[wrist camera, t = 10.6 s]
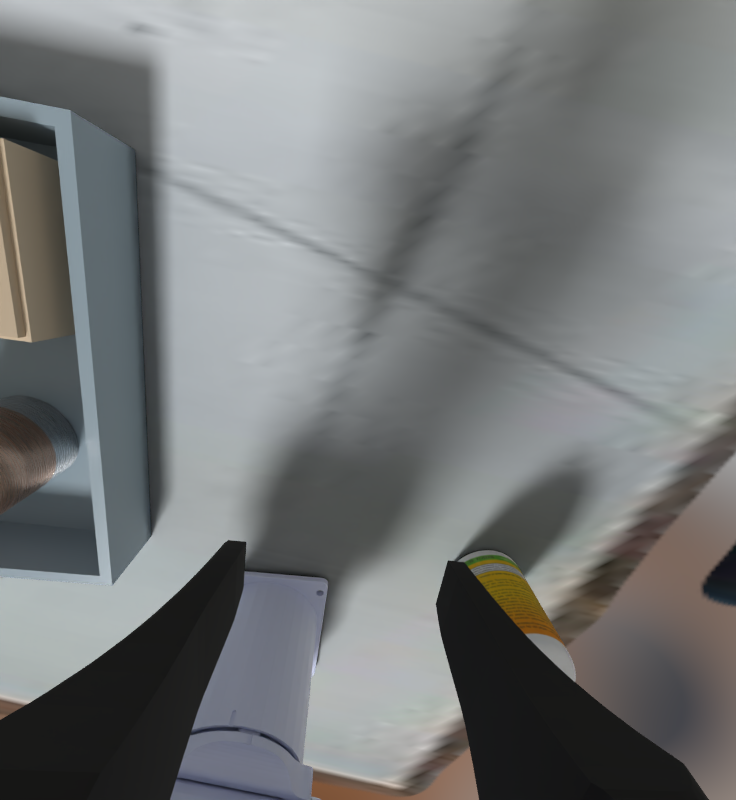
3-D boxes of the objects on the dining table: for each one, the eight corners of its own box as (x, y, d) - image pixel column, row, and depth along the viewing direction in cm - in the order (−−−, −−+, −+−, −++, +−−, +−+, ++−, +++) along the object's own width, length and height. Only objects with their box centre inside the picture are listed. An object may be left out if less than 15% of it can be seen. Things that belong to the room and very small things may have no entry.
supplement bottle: (437, 558, 25) (488, 720, 16) (512, 538, 25) (608, 692, 15) (452, 613, 27) (506, 788, 17) (522, 595, 26) (614, 763, 17)
